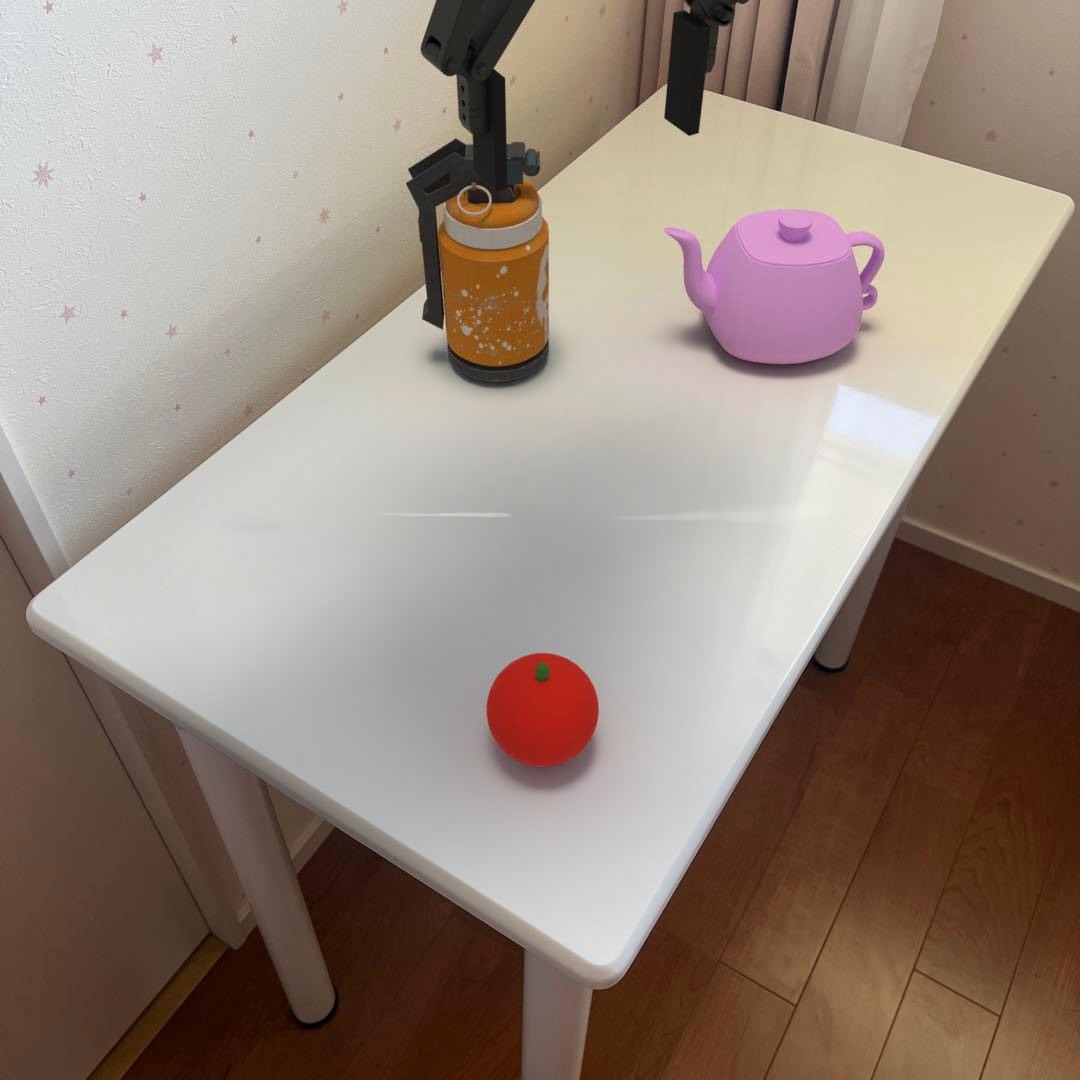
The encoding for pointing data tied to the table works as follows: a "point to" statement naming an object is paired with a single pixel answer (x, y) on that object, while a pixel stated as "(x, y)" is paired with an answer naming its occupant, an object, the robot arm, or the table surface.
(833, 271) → the teapot
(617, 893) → the table surface
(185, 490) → the table surface
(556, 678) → the tomato
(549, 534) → the table surface
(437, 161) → the canister
